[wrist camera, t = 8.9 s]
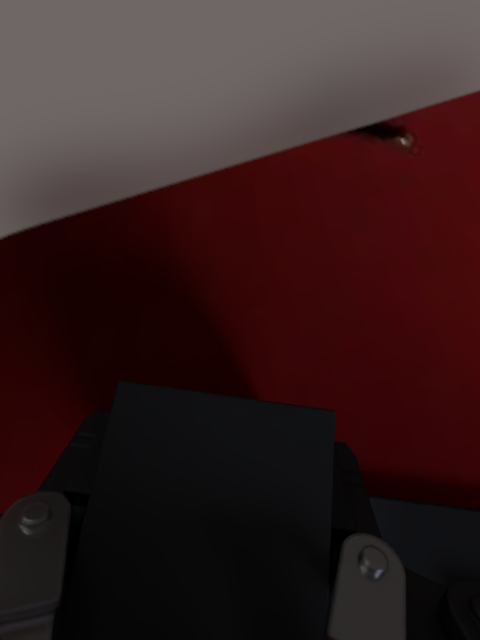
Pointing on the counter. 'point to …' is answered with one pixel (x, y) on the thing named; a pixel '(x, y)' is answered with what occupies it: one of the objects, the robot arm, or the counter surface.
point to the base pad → (431, 537)
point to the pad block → (205, 521)
